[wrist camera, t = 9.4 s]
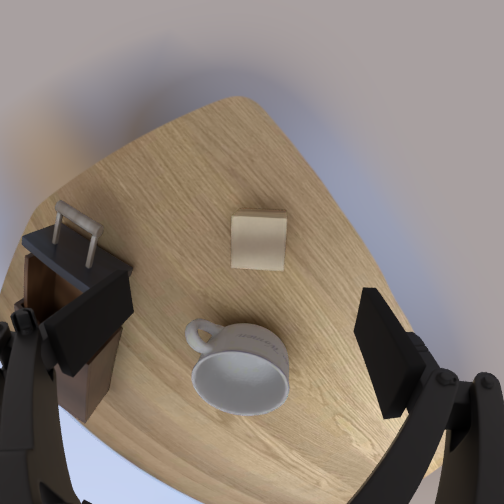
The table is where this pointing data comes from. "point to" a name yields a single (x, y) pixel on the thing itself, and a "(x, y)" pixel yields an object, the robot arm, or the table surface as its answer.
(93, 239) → the drawer
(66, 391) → the cabinet
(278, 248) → the block
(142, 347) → the table surface
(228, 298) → the table surface
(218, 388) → the teacup
